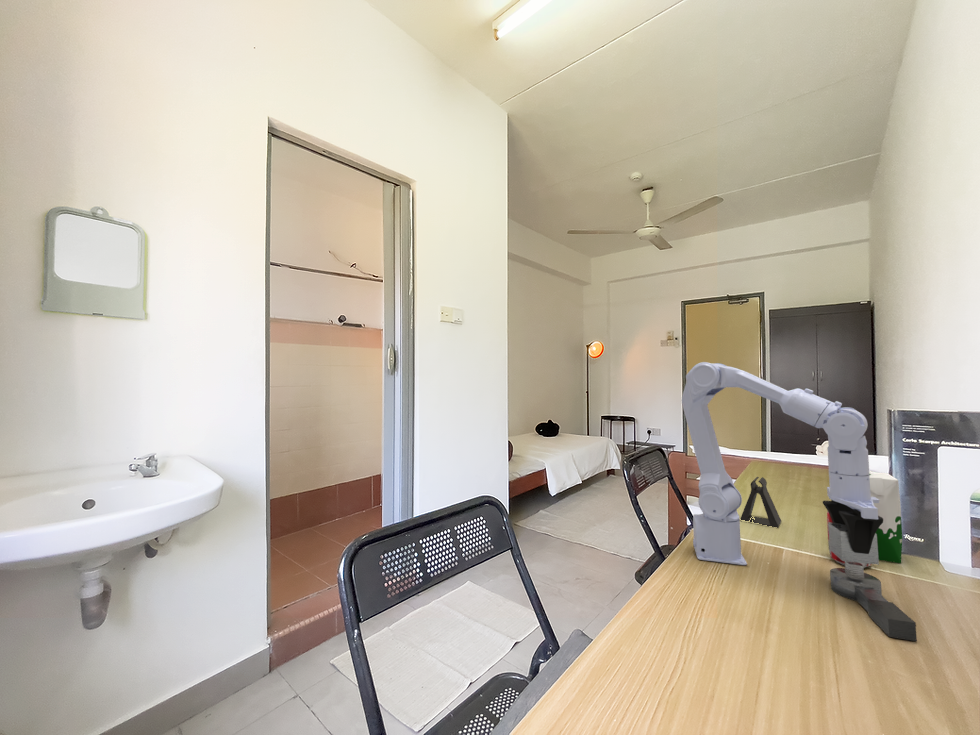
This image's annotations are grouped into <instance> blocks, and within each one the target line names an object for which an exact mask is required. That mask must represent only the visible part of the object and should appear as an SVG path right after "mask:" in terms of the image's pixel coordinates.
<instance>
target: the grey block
mask: <svg viewBox="0 0 980 735" xmlns="http://www.w3.org/2000/svg"><path fill="white" fill-rule="evenodd" d="M828 531H829V545H830V551H832V552H833V553H834V554H835V555H836V556H837V557H839V558H840V559H841V560H842V561H848V562H858V563H867V564H872V565H878V566H879V565H880V560H879V559H878V545H877V534H875V535H874V538H873V541H872V545H871V549H870V552H869V554H863V553H855V552H853V550H852V547H851V544H850V540H849V535H848V531H847V527H846V525H845V523H832V522H828V529H827V532H828ZM829 545H828V546H829Z"/></svg>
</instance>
